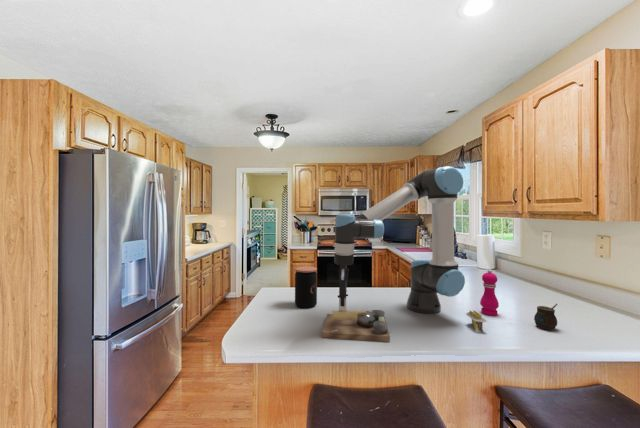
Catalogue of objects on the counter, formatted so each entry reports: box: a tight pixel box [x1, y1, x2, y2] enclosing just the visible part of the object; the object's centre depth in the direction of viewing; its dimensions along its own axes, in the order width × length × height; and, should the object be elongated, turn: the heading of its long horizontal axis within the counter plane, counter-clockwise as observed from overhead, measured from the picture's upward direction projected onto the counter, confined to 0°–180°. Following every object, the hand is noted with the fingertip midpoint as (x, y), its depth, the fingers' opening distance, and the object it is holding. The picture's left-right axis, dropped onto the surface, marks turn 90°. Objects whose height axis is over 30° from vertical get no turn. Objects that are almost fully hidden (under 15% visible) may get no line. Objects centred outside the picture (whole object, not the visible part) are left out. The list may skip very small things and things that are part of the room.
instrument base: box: [321, 309, 391, 343], centre depth 111 cm, size 24×19×5 cm
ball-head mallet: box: [331, 310, 375, 327], centre depth 111 cm, size 16×7×5 cm, turn 90°
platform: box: [466, 309, 487, 332], centre depth 113 cm, size 12×18×7 cm, turn 178°
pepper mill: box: [480, 268, 499, 317], centre depth 129 cm, size 7×7×20 cm
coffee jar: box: [294, 265, 318, 310], centre depth 139 cm, size 11×11×18 cm
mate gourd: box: [533, 303, 558, 331], centre depth 114 cm, size 7×8×10 cm
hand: (342, 313), depth 112 cm, fingers closed
